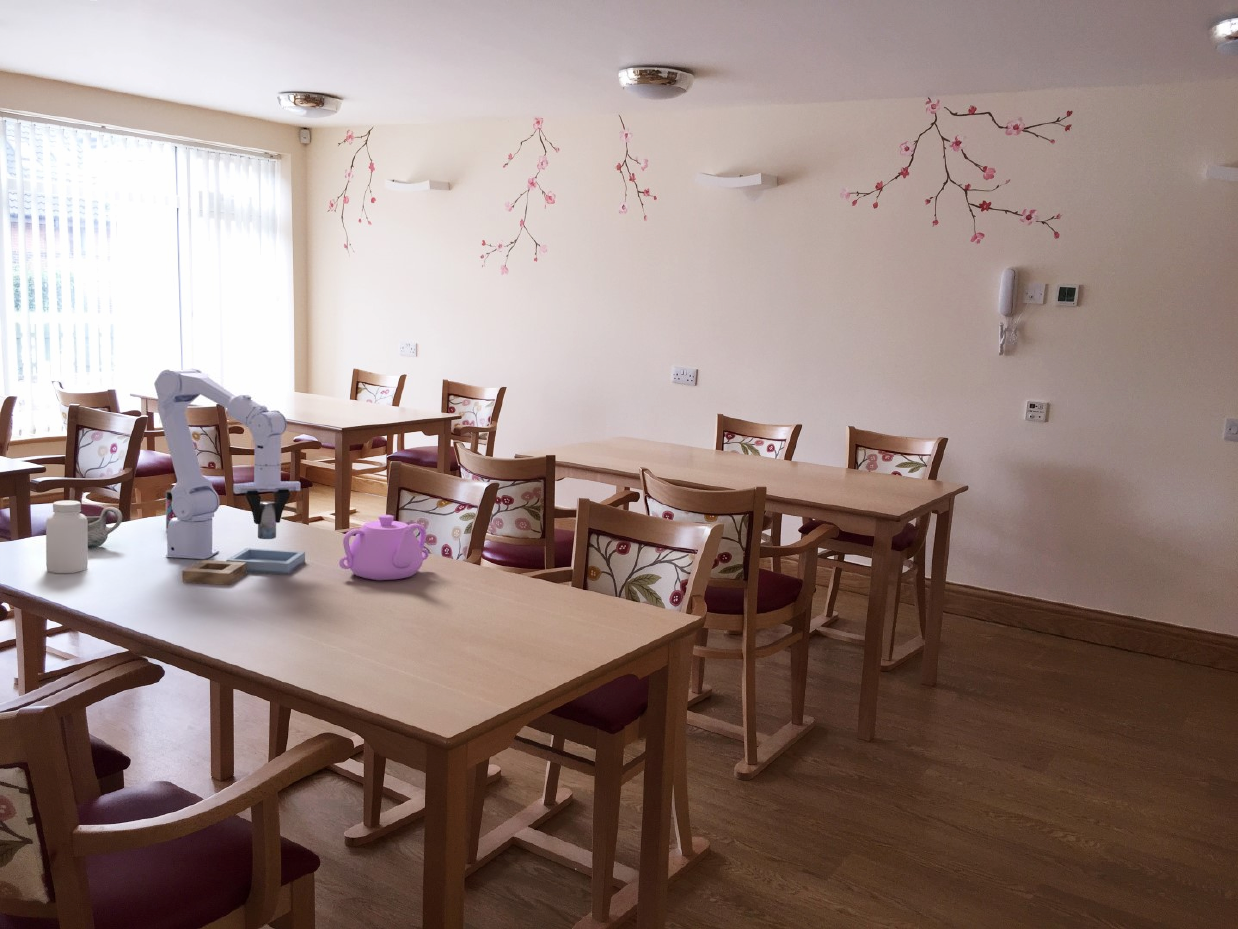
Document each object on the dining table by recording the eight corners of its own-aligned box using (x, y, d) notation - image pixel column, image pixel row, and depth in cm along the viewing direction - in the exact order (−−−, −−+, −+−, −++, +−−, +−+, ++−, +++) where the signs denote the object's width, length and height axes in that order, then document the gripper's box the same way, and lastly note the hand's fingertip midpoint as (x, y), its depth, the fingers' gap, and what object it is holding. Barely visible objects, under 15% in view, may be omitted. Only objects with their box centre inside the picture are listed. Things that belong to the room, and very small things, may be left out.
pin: (255, 538, 229) (255, 504, 228) (261, 534, 233) (262, 501, 232) (272, 539, 229) (272, 505, 228) (278, 536, 233) (279, 502, 232)
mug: (64, 544, 241) (64, 503, 239) (123, 542, 246) (122, 502, 245) (61, 553, 232) (61, 511, 231) (122, 551, 238) (121, 510, 236)
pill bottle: (86, 573, 217) (84, 505, 215) (43, 575, 214) (42, 506, 212) (90, 564, 225) (89, 498, 222) (49, 565, 222) (48, 499, 219)
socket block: (182, 582, 215) (182, 570, 215) (202, 570, 225) (202, 559, 225) (228, 584, 215) (228, 573, 215) (246, 573, 225) (246, 562, 225)
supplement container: (172, 526, 266) (172, 487, 265) (198, 528, 266) (198, 489, 265) (161, 531, 260) (161, 492, 258) (187, 533, 260) (187, 493, 258)
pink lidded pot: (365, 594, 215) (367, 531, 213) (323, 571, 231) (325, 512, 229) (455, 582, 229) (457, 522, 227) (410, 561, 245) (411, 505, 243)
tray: (226, 570, 226) (226, 560, 226) (246, 558, 238) (246, 548, 238) (287, 574, 226) (288, 563, 226) (304, 562, 238) (305, 551, 238)
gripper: (239, 467, 221) (238, 528, 223) (304, 465, 230) (303, 524, 231) (231, 463, 227) (230, 521, 229) (295, 461, 235) (294, 518, 237)
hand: (267, 522), depth 231 cm, fingers closed on pin, 4 cm apart
